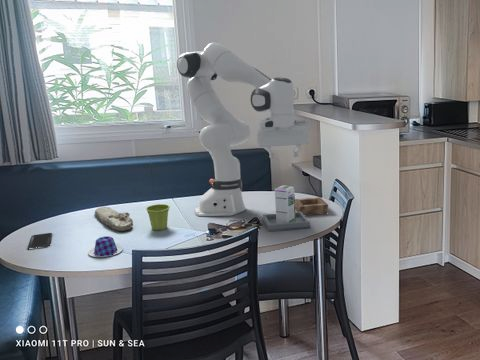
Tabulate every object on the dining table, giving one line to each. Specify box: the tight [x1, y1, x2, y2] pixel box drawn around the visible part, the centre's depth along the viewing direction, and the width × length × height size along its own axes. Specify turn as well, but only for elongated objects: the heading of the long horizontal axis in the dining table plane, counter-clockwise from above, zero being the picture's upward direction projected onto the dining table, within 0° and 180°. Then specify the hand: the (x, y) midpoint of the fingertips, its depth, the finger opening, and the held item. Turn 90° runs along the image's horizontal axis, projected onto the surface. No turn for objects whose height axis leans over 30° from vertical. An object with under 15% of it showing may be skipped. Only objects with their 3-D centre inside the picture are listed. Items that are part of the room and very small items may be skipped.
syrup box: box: [274, 185, 296, 224], centre depth 192 cm, size 6×6×14 cm
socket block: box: [295, 196, 329, 216], centre depth 209 cm, size 12×12×4 cm
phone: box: [27, 232, 53, 249], centre depth 187 cm, size 8×1×15 cm
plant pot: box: [145, 203, 171, 231], centre depth 195 cm, size 9×9×9 cm
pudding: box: [88, 235, 124, 258], centre depth 173 cm, size 12×12×5 cm
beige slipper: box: [94, 206, 134, 232], centre depth 208 cm, size 35×5×10 cm
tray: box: [262, 211, 311, 232], centre depth 193 cm, size 16×14×2 cm
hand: (283, 157), depth 188 cm, fingers open, 8 cm apart
